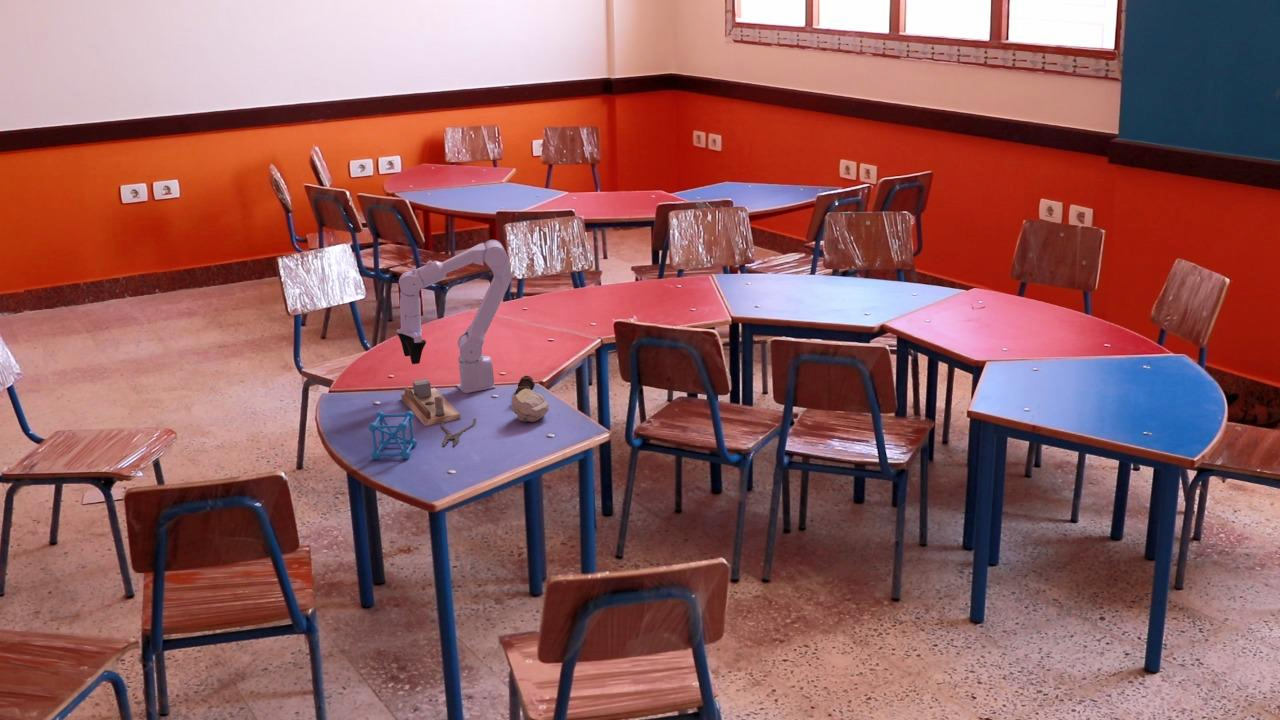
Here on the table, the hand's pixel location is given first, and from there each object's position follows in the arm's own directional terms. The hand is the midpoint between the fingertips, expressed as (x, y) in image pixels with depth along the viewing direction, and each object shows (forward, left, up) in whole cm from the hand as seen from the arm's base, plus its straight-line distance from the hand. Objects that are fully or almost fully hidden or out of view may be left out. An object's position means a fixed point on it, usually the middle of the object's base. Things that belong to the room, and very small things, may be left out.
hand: (412, 359), depth 354 cm
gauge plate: (0, +14, -11) cm, 17 cm away
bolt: (-28, +18, -11) cm, 35 cm away
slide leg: (0, +7, -9) cm, 11 cm away
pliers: (-2, +35, -11) cm, 37 cm away
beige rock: (-22, +36, -11) cm, 44 cm away
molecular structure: (+17, +40, -11) cm, 45 cm away
